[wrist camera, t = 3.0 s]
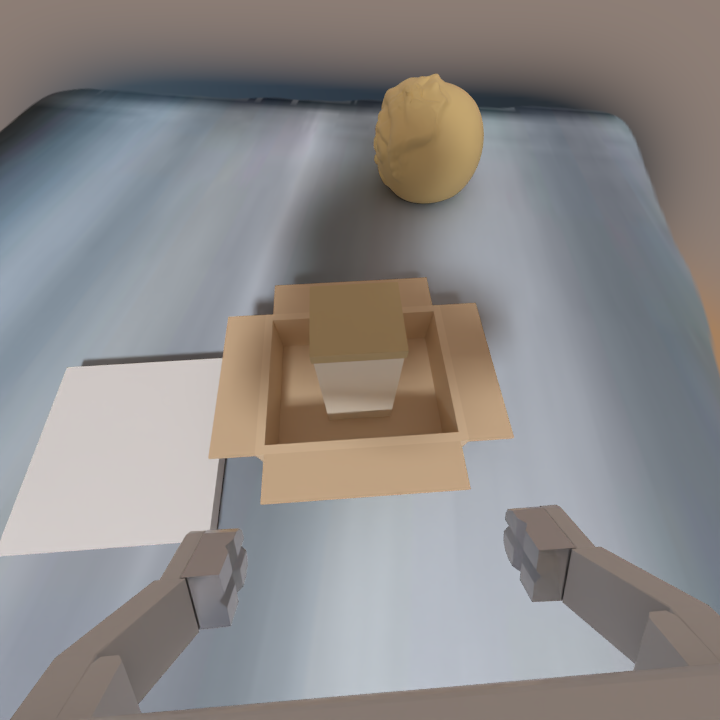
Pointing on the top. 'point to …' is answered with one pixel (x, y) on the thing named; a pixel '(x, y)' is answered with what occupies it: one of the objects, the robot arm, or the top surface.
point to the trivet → (122, 461)
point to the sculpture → (427, 139)
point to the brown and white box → (357, 347)
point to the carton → (361, 435)
